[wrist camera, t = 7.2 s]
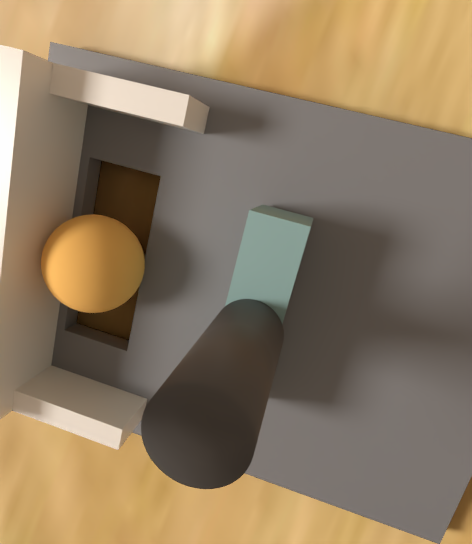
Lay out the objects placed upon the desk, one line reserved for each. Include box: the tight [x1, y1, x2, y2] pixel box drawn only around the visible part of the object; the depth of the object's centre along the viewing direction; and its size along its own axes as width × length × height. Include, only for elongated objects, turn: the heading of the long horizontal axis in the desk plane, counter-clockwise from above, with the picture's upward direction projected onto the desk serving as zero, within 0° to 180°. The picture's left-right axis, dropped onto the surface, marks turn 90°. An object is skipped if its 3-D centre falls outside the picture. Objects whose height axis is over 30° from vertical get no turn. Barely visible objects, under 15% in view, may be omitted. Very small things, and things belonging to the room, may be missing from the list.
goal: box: [0, 45, 210, 450], centre depth 17 cm, size 6×14×4 cm, turn 166°
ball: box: [41, 214, 145, 313], centre depth 17 cm, size 4×4×4 cm
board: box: [48, 42, 472, 544], centre depth 18 cm, size 21×16×1 cm
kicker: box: [141, 204, 313, 489], centre depth 13 cm, size 2×8×9 cm, turn 166°
